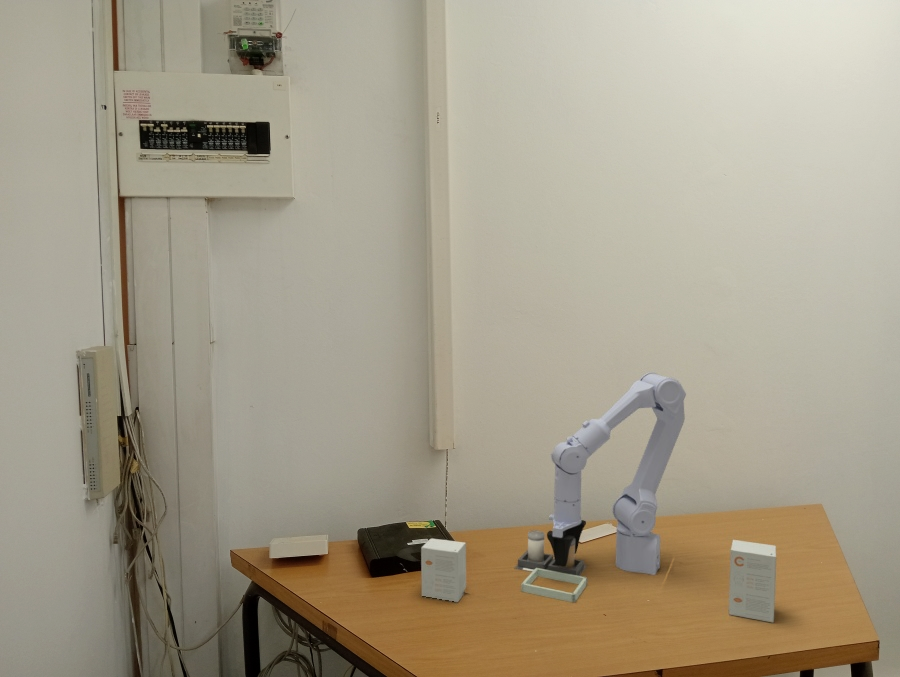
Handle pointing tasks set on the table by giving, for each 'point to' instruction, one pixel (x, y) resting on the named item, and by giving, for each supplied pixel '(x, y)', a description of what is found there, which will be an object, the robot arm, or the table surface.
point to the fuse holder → (549, 565)
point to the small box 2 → (752, 580)
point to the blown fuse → (571, 556)
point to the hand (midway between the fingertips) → (566, 558)
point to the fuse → (536, 546)
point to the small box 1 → (443, 569)
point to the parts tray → (551, 592)
